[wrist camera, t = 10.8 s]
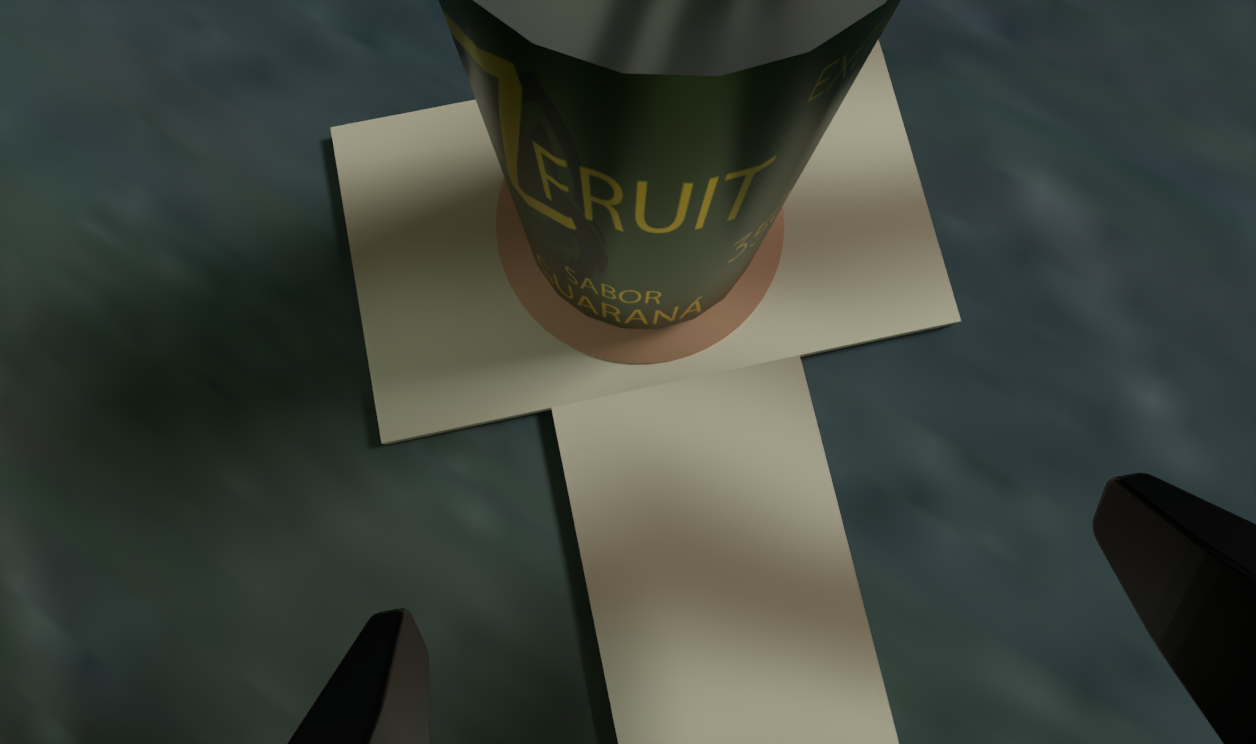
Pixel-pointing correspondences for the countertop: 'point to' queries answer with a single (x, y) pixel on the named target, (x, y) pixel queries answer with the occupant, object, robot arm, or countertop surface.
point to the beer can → (656, 133)
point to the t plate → (664, 410)
